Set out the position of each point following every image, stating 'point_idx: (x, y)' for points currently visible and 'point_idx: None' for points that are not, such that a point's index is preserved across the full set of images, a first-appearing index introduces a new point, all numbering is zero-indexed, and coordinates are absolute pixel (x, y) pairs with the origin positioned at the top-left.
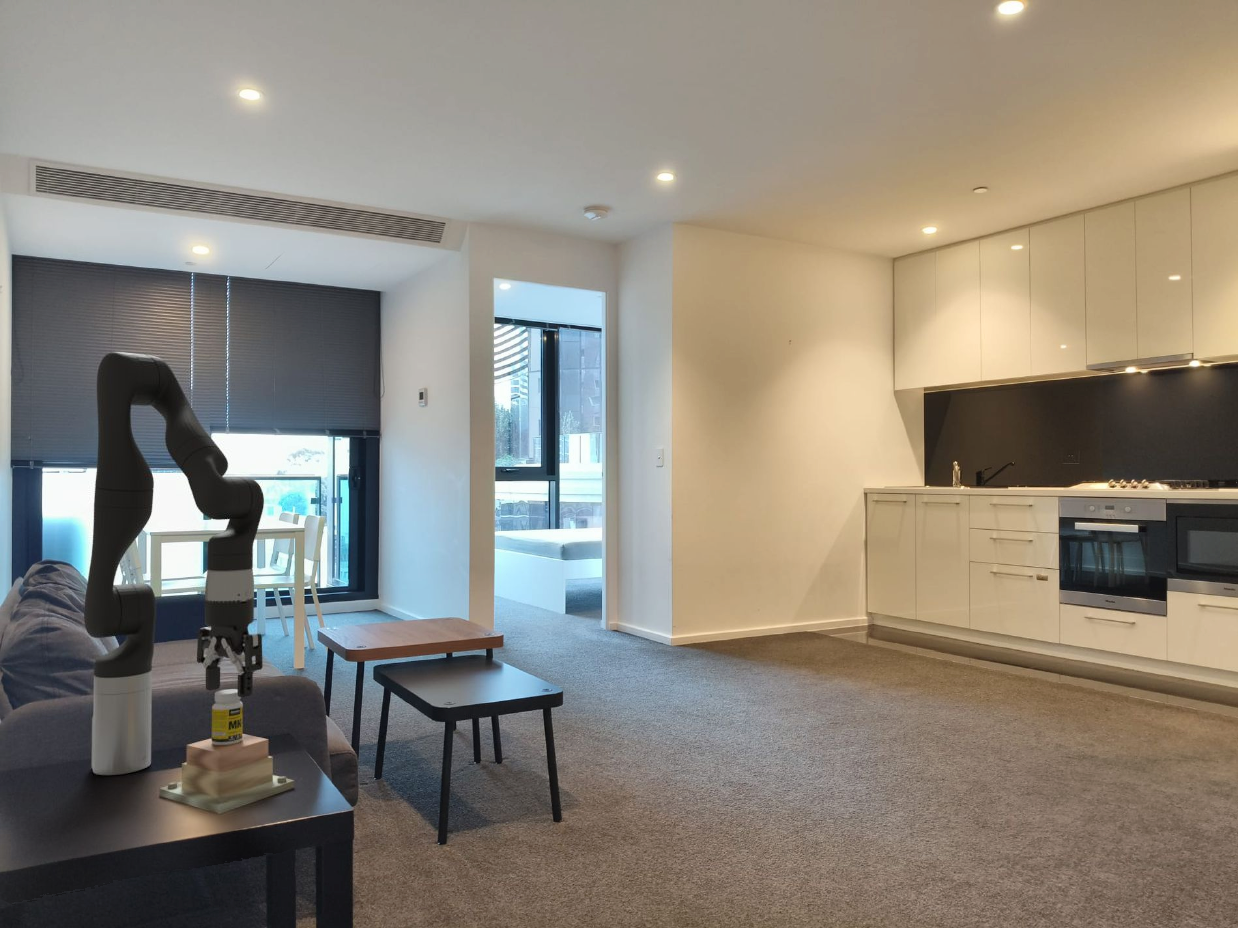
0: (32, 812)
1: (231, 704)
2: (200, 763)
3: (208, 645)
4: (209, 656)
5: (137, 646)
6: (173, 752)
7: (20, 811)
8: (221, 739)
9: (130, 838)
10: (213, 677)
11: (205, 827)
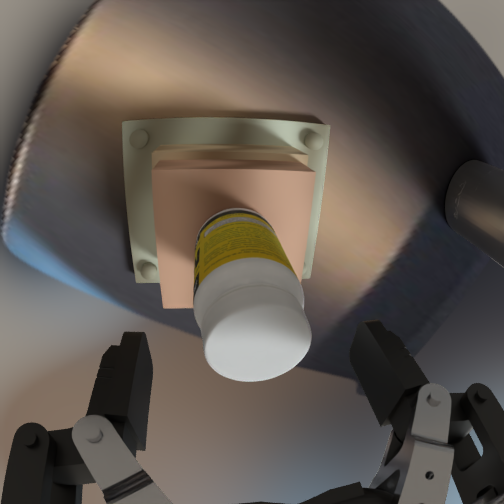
0: (424, 7)
1: (206, 308)
2: (243, 161)
3: (475, 474)
4: (415, 452)
5: None
6: (451, 273)
7: (439, 9)
8: (212, 219)
9: None
10: (375, 372)
11: (90, 73)
